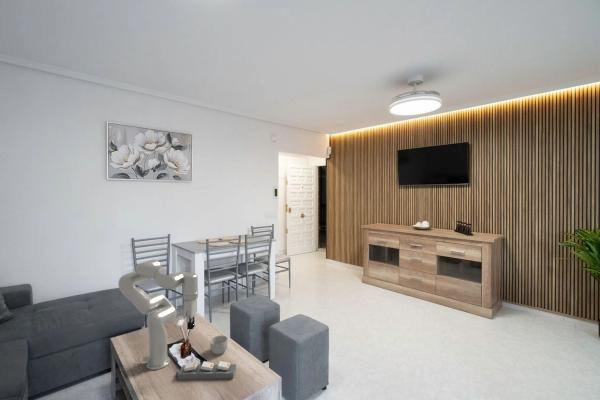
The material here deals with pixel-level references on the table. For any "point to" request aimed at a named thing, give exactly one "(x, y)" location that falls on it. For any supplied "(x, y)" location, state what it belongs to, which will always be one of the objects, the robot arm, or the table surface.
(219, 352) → the teacup
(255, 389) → the table surface
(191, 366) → the rocker
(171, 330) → the table surface
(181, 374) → the grey rectangular tray
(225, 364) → the rocker
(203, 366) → the rocker
